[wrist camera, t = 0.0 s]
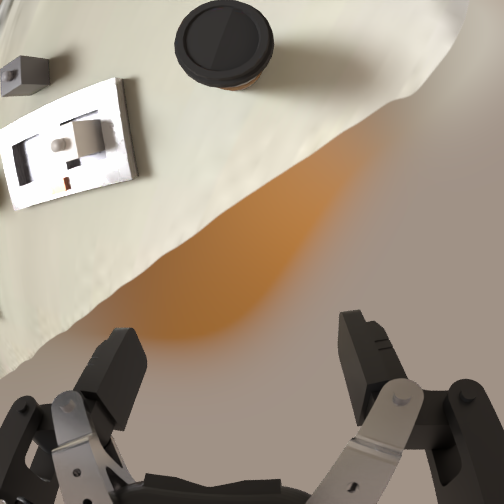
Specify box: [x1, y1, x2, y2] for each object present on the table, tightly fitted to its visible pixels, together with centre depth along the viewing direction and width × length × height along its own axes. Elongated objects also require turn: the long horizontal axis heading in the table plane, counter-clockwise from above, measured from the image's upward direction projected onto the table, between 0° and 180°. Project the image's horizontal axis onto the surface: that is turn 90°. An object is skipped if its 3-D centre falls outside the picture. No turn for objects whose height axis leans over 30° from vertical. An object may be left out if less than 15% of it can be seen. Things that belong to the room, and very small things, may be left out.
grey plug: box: [0, 56, 50, 97], centre depth 28 cm, size 5×5×8 cm
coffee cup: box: [174, 0, 274, 91], centre depth 26 cm, size 8×8×15 cm
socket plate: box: [0, 77, 139, 211], centre depth 35 cm, size 14×24×3 cm, turn 97°
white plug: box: [45, 119, 105, 167], centre depth 32 cm, size 5×5×8 cm
